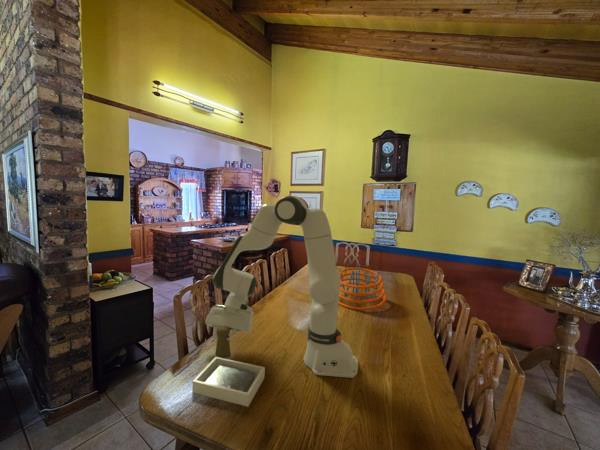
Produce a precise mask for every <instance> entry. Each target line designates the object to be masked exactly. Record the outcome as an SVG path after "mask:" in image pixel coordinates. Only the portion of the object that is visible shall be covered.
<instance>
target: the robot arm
mask: <svg viewBox="0 0 600 450" xmlns="http://www.w3.org/2000/svg"><path fill="white" fill-rule="evenodd" d="M255 214H256V215H255V217H254V219H253V221H252V222H251V223H252V224H251V226H250V228H249V230H247V231H246V232H244V233H241V234H240V235H238V236H237V238H236V240H235V241H234V243H233V244H232V246H231V248H230V249H229V250H228V253H227V255H226V256H225V258H224V260H223V261H222V263H221V265H219V267H218V268H217V269H216V271H215V272H214V273H213V277H212V283H213V285H214V287H215V288H216V289H218V290H223V291H226V292H227V291H228V292H229V294H228V296H227V297H226V300H225V302H224V305H223V304H221V305H220V304H215V305H213V306H212V307H211V308H210V311H209V313H208V315H206V318H205V320H204V322H205V325H207V326H208V327H212V328H214V330H215V331H214V332H215V334H214V339H215V340H217V339H218V336H217V329H218V328H219V327H221V326H227V327H229V329H230V331H231V333H229V335H228V336H227V338H226V340H227V341H229V342H232V339H233V338H234V337H235V335H237V332H242V333H247V334H248V333H250V332H251V330H252V326H253V320H254V319H253V316H254V310H253V309H252V308H251V307H250V305H248V304H247V299H248V298H249V297H252V296H253V295H254V293H255V288H256V287H257V284H258V281H257V277H255V275H253V274H251V273H249V272H246V271H243V270H242V271H241V270H239V269H236V268H234V267H232V265H233V263H234V262H235V260H236V258H237V257H238V256H239V254H240V253H242V252H245V251H260V250H265V249H268V248H269V247H271V245H272V244H273V243H274V240H275V238H276V236H277V234H278V231H279V229H280V227H281V225H282V224H283V223H284V224H288V225H294V226H300V228H301V229H302V233H303V239H304V246H305V251H306V256H307V257H306V258H307V268H308V269H307V270H308V271H307V272H308V281H309V283H308V284H309V293H310V296H311V303H310V304H311V305H310V312H309V313H310V315H309V316H310V317H309V325H308V328H307V346H306V350H305V353H304V355H303V359H302V360H303V362H304V364H305V365H306V367H308V368H309V369H310V370H311V371H312V372H313V374H314V375H316V376H324V377H326V376H327V377H336V378H337V377H338V378H350V379H353V378H354V377H356V376H357V375H358V371H359V362H358V359H357V357H356V356H355V355H354V354H353V350H352V347H351V346H350V344H348V343H347V342H346V341H344V339H342V333H341V332H342V331H341V329H339V330H338V328H337V327H338V326H337V325H338V312H339V304H338V302H340V301H339V300H340V297H339V294H340V292H341V291H340V288H341V287H340V284H341V283H340V271H338V269H337V267H336V257H335V256H336V255H335V254H336V253H335V248H334V247H335V246H334V242H333V236H332V231H331V226H330V223H329V220H328V217H327V214H326V213H325V211H324V210H323V209H320V208H309V204H308V203H307V201H306V200H305V199H303V198H302V197H299V196H296V195H285V196H281V198H279V200H277V202H276V203H275V204H272V203H265V204H262V205H261V207H259V209H258V211H257V213H255Z"/></svg>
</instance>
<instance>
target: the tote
mask: <svg viewBox="0 0 600 450" xmlns="http://www.w3.org/2000/svg"><path fill="white" fill-rule="evenodd" d="M220 365H222V366H226V367H231V368H235V369H240V370H244V371H249V372H253V373H255V380H254V381H253V383H252V385H251V386H250V388H249V390H248V391H247V392H243V391H239V390H235V389H231V388H227V387H223V386H219V385H214V384H210V383H206V381H207V379H208V378H209V377H210V376H211V375H212V374H213V373H214V371H215V370H216V369H217V368H218V367H219V366H220ZM265 373H266V367H265V366H260V365H256V364H252V363H248V362H247V363H246V362H242V361H238V360H232V359H228V358H225V357H218V356H215V357H214V358H212V360H211V361H210V362H209V363H208V364H207V365H206V366H205V368H204V369H202V371H201V372H200V373H199V374H198V375H197V376H195V378H194V379H193V380H192V393H193V394H197V395H201V396H204V397H209V398H211V399H212V398H213V399H217V400H219V401H225V402H228V403H232V404H236V405H239V406H244V407H247V408H249V406H250V405H251V403H252V401H253V399H254V398H255V395H256V393H257V392H258V390H259V388H260V386H261V385H262V383H263V381H264V380H265V378H266V377H265V375H266V374H265Z"/></svg>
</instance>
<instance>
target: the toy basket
mask: <svg viewBox="0 0 600 450" xmlns="http://www.w3.org/2000/svg"><path fill="white" fill-rule="evenodd" d="M338 270H339V274H340V291H339V292H342V293H344V295H341V294H340V293H339V299H341V300H344V301H346V302H347V301H348V302H351V303H354V305H357V303H358V304H363V305H364V304H367V303H373V304H374V303H375V302H377V301H379V300H381V299H383V300H382V301H381V302H380V303H378V304H376V305H372V306H363V307H362V306H353V305H348V304H345V303H343V302H341V301H339V302H338V306H340V307H343V308H346V309H350V310H357V311H370V310H375V309H378V308H380V307H382V306H383V305H385V304H386V302H387V295H386V291H385V288H384V283H383V278H382V276H381V275H380V270H378V271H374V270H371V269H369V268H363V267H361V263H359V264H358V267H348V268H346V267H345V268H343V269H342V270H341V267H339V268H338ZM347 271H352V272H347ZM361 271H363V272H361ZM344 272H345V273H344ZM366 272H367V273H371V274H373V275H371V274H367V273H366ZM347 276H350V277H347ZM360 276H362V277H360ZM363 277H364V278H363ZM372 279H373V280H372ZM374 280H375V281H374ZM346 281H348V282H346ZM360 281H363V282H360ZM364 282H366V283H364ZM369 283H371V284H369ZM345 287H347V289H345ZM351 288H352V291H350V290H349V289H351ZM359 289H360V290H361V289H365V291H364V292H359ZM370 289H374V291H370ZM379 293H380V295H379V296H377V297H376V294H379ZM347 295H350V296H354V297H355V299H353V298H348V297H347ZM357 296H360V297H362V296H363V297H362V299H358V298H357ZM367 296H368V297H369V299H365V298H366V297H367ZM371 296H373V298H372V297H371Z"/></svg>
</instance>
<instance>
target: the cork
mask: <svg viewBox="0 0 600 450" xmlns="http://www.w3.org/2000/svg"><path fill="white" fill-rule="evenodd" d="M230 332H231V330H230V329H229V327H227V326H221V327H219V328H218V329H217V336H218V339H216V340H217V341H216V347H215V354H214V355H215V357H220V358H225V357H228V356H229V355H230V354H231V346H230V344H231V343H230V341H227V340H226V338H227V336H229V335H230V334H231V333H230Z"/></svg>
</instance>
